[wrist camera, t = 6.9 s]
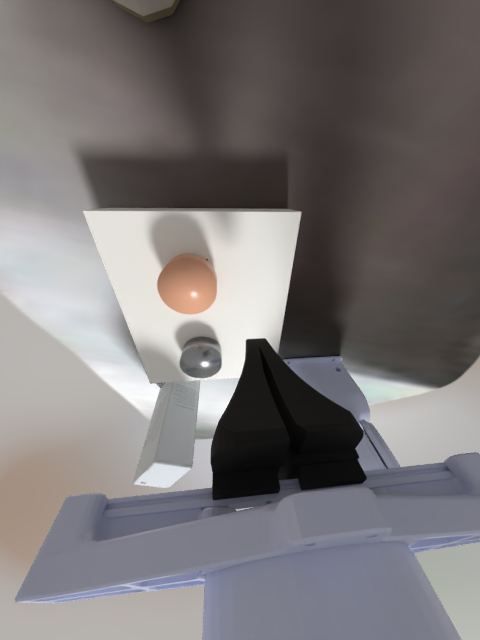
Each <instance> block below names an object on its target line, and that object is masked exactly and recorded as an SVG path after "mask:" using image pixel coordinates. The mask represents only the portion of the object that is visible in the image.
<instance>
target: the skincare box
mask: <svg viewBox="0 0 480 640" xmlns="http://www.w3.org/2000/svg"><path fill="white" fill-rule="evenodd" d="M199 389H200V380H195V381H180V382H165V384H164V385H163V386H162V388H161V389H160V391H159V395H158V398H157V401H156V405H155V408H154V412H153V415H152V419H151V422H150V426H149V429H148V433H147V436H146V439H145V443H144V446H143V450H142V453H141V456H140V460H139V463H138V466H137V470H136V473H135V477H134V481H133V484H136V485H145V486H154V487H165V488H168V487H170V486H171V485H172V484H173V483H174V482H176V481H177V480H178V479H179V478H180V477H182V476H183V475H184V474H185V473H186V472H188V471H189V470H190V469H191V468H192V464H193V454H194V443H195V432H196V422H197V411H198V399H199Z"/></svg>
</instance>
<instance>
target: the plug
mask: <svg viewBox="0 0 480 640" xmlns="http://www.w3.org/2000/svg"><path fill="white" fill-rule="evenodd" d="M179 364H180V368H181V370H182V371H183V372H184V373H185V374H187V375H188V376H191V377H194V378H208V377H211V376H213V375H215V374H217V373H218V372H219V370H220V369H221V366H222V350H221V347H220V345H219V343H218V342H216V341H215V340H214V339H211V338H209V337H195V338H192V339H190V340H188V341H187V342H186V343H185V344H184V346H183V349H182V354H181V358H180V363H179Z"/></svg>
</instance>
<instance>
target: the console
mask: <svg viewBox="0 0 480 640" xmlns="http://www.w3.org/2000/svg"><path fill="white" fill-rule="evenodd" d="M83 212H84V215H85V218H86V220H87V223H88V225H89V228H90V230H91V233H92V235H93V238H94V241H95V243H96V246H97V248H98V251H99V253H100V256H101V259H102V261H103V264H104V266H105V269H106V271H107V274H108V276H109V279H110V282H111V284H112V287H113V289H114V292H115V294H116V297H117V299H118V302H119V305H120V307H121V310H122V312H123V315H124V317H125V320H126V322H127V325H128V328H129V330H130V333H131V335H132V338H133V340H134V343H135V345H136V348H137V351H138V353H139V356H140V358H141V361H142V363H143V366H144V368H145V371H146V374H147V376H148V379H149V381H150V383H165V382H180V381H195V380H211V379H226V378H240V376H241V373H242V370H243V366H244V362H245V351H246V340H247V339H259V338H265V339H267V341H268V342H269V344H270V345H271V346H272V348H273V349H274V350H275V352H276V353H277V354H278V350H279V344H280V338H281V332H282V326H283V320H284V314H285V308H286V302H287V296H288V290H289V284H290V278H291V272H292V266H293V260H294V254H295V248H296V242H297V236H298V230H299V224H300V218H301V212H300V211H295V210H291V209H236V208H101V209H93V210H85V211H83ZM185 253H190V254H196V255H199V256H201V257H203V258H204V259H208V262H209V263H210V264H211V265H212V266H213V268H214V270H215V272H216V276H217V294H216V298H215V301H214V303H213V304H212V305H211V306H210V307H209V308H208V309H207V310H205V311H203V312H201V313H198V314H182V313H179V312H176V311H174V310H172V309H171V308H169V307H168V306H167V305H166V304H165V303H164V302H163V301H162V299H161V297H160V295H159V293H158V289H157V281H158V277H159V275H160V273H161V271H162V270H163V269H164V267H165V266H166V265H167V263H168V262H169V261H170V260H171V259H172V258H173V257H175V256H177V255H180V254H185ZM195 337H209V338H211V339H214V340H215V341H216V342H218V343H219V345H220V347H221V350H222V366H221V369H220V370H219V372H218V373H217V374H215V375H213V376H211V377H208V378H194V377H191V376H188V375H187V374H185V373H184V372H183V371H182V370H181V368H180V364H179V363H180V358H181V354H182V349H183V346H184V344H185V343H186V342H187V341H188V340H190V339H192V338H195Z"/></svg>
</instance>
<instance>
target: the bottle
mask: <svg viewBox="0 0 480 640" xmlns="http://www.w3.org/2000/svg"><path fill="white" fill-rule="evenodd" d="M112 1H113V2H114V3H115V4H116V5H117V6H118V7H119V8H120V9H122V10H124V11H126V12H128V13H130V14H132V15H133V16H135V17H137V18H139V19H141V20H143V21H145V22H147V23H149V22H152V21H155V20H158V19H161V18H164V17H167V16H170V15H173V13H174V11H175V9H176V7H177V6H178V4H179V2H180V0H112Z"/></svg>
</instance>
